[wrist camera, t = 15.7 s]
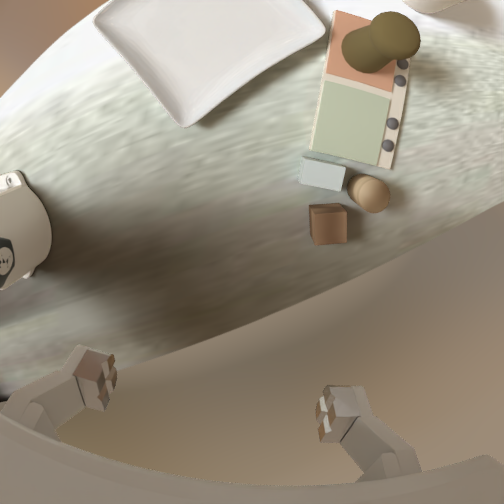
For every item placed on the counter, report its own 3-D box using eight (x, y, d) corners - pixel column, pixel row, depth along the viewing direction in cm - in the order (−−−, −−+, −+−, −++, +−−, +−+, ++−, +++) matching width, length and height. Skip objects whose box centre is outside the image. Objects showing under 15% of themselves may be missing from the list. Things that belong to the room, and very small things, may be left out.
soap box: (297, 178, 39) (300, 183, 36) (301, 156, 38) (305, 159, 35) (334, 186, 39) (340, 191, 36) (339, 163, 38) (346, 167, 35)
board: (308, 149, 37) (310, 150, 36) (332, 12, 29) (335, 9, 28) (387, 168, 38) (391, 170, 37) (410, 39, 30) (414, 37, 29)
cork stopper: (341, 189, 39) (352, 197, 34) (361, 167, 38) (374, 172, 33) (361, 209, 40) (374, 219, 35) (381, 187, 39) (396, 195, 34)
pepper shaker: (360, 20, 29) (395, -7, 19) (395, 54, 30) (439, 39, 20) (331, 49, 31) (359, 26, 21) (368, 83, 32) (408, 74, 22)
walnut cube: (310, 233, 42) (315, 245, 38) (308, 204, 40) (314, 214, 36) (338, 231, 42) (346, 242, 38) (338, 202, 40) (346, 211, 36)
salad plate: (188, 132, 37) (182, 133, 34) (98, 25, 30) (87, 20, 27) (326, 38, 31) (332, 31, 28) (224, -64, 24) (222, -76, 21)
